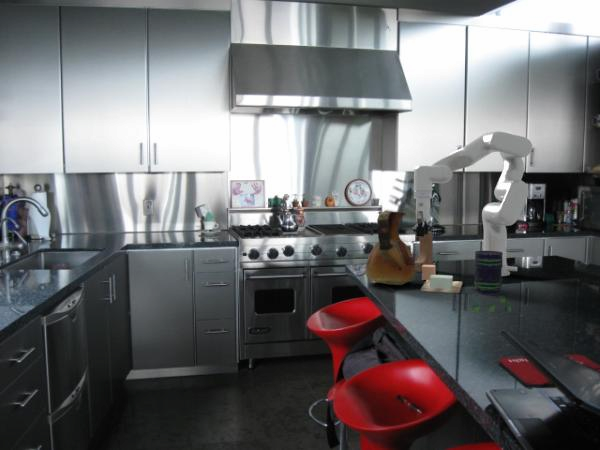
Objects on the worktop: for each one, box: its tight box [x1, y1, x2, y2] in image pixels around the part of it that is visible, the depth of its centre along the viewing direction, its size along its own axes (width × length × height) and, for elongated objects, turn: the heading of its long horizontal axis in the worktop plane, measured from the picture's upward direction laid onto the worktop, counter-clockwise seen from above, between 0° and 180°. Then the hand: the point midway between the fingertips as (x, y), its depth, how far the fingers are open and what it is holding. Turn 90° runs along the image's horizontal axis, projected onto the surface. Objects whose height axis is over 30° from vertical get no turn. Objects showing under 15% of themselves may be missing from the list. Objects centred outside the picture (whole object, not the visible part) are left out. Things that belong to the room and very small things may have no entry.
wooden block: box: [414, 231, 434, 273], centre depth 249 cm, size 9×4×18 cm, turn 131°
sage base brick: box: [430, 274, 454, 289], centre depth 208 cm, size 8×6×4 cm
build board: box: [420, 280, 463, 294], centre depth 211 cm, size 14×18×1 cm
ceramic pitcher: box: [365, 210, 416, 286], centre depth 218 cm, size 20×20×30 cm
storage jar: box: [473, 250, 503, 296], centre depth 201 cm, size 10×10×15 cm
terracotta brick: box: [421, 264, 436, 281], centre depth 228 cm, size 5×5×6 cm
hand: (422, 235), depth 230 cm, fingers open, 9 cm apart
